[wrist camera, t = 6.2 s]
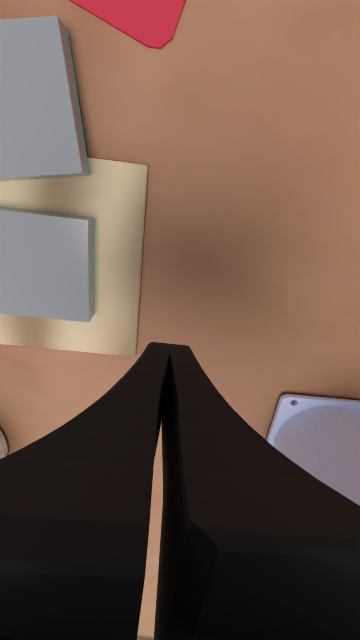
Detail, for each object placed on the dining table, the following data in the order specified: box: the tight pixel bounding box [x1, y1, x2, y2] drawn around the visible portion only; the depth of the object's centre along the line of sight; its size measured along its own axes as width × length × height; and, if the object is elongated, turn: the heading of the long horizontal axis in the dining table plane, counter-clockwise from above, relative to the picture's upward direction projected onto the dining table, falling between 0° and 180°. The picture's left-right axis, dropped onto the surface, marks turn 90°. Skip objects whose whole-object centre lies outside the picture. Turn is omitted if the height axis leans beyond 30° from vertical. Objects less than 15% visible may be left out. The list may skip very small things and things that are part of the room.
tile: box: [0, 206, 95, 323], centre depth 18 cm, size 1×6×7 cm
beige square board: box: [0, 157, 148, 357], centre depth 18 cm, size 12×12×1 cm
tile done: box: [0, 16, 90, 181], centre depth 14 cm, size 7×6×1 cm
